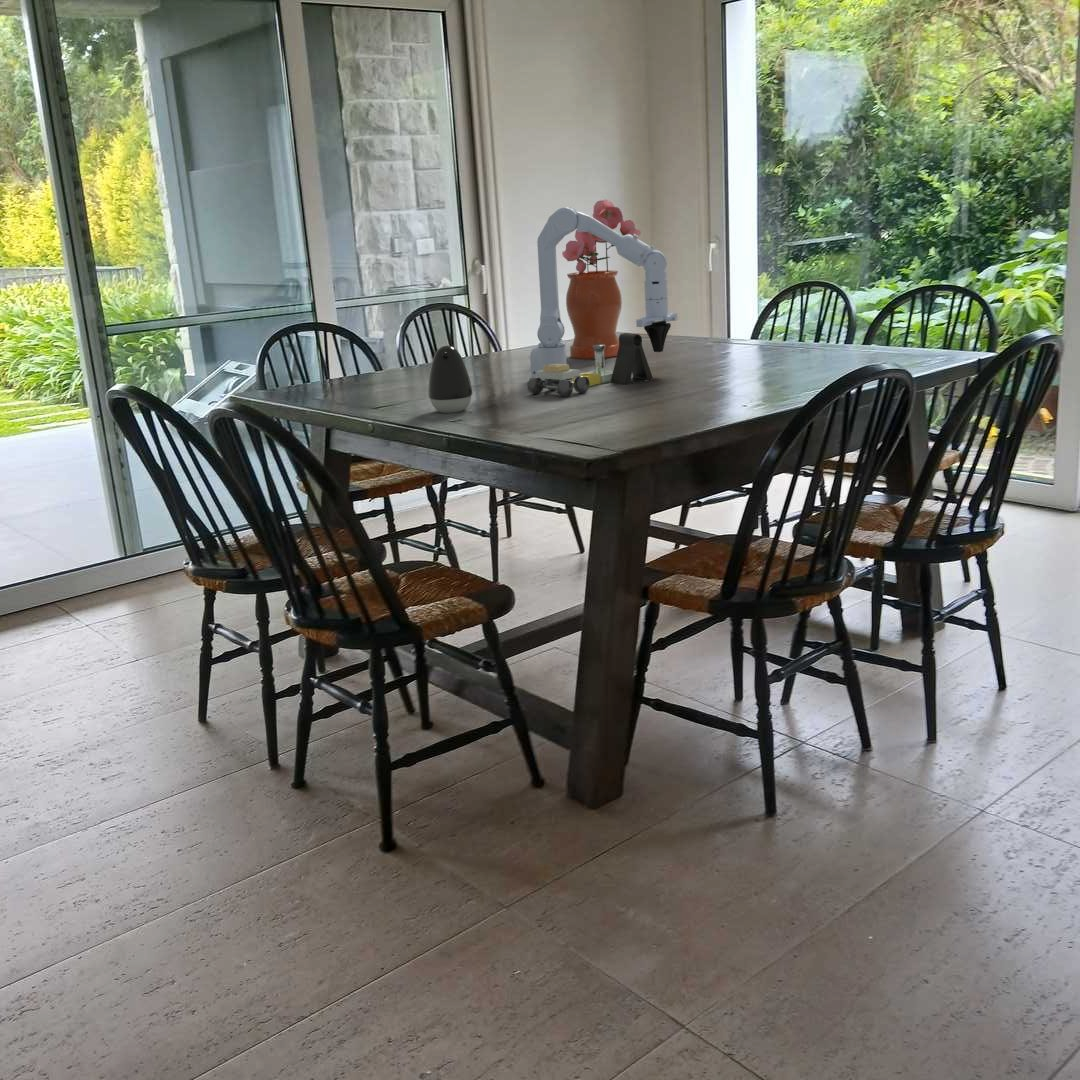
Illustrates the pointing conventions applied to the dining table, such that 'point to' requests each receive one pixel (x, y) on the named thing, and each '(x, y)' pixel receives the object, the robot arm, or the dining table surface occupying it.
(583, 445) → the dining table surface
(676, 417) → the dining table surface
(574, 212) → the robot arm
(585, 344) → the potted flower
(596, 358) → the stop pin
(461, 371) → the egg shaped device
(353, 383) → the dining table surface
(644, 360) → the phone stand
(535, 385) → the toy rover
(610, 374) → the tray
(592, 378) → the pin socket
